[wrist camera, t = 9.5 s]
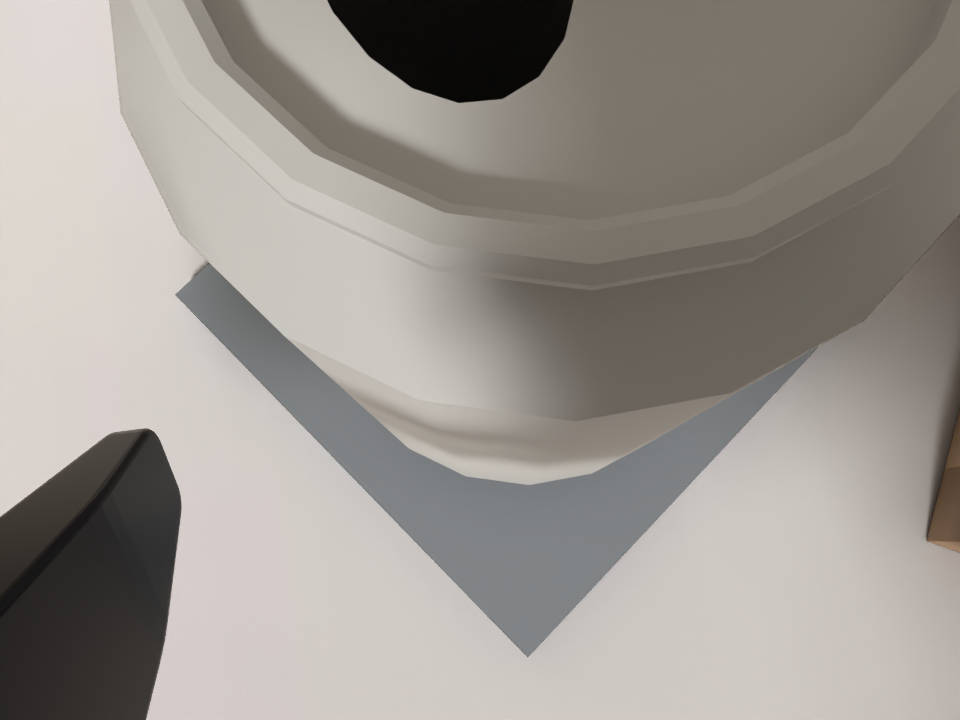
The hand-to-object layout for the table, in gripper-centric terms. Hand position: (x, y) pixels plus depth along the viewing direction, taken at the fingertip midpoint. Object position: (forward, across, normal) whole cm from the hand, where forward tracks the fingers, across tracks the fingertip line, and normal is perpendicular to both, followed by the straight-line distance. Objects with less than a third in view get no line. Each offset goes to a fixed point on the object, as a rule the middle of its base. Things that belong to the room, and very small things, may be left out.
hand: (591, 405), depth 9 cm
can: (+8, 0, +3) cm, 9 cm away
